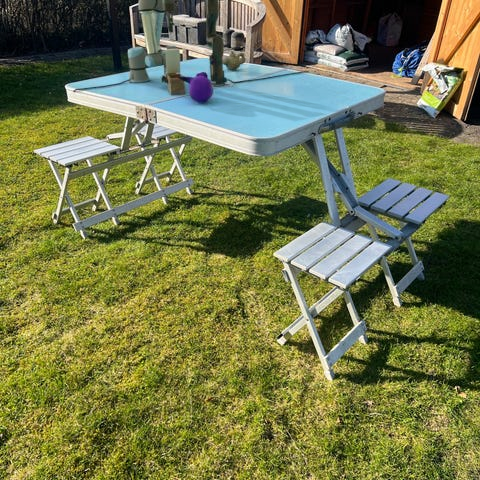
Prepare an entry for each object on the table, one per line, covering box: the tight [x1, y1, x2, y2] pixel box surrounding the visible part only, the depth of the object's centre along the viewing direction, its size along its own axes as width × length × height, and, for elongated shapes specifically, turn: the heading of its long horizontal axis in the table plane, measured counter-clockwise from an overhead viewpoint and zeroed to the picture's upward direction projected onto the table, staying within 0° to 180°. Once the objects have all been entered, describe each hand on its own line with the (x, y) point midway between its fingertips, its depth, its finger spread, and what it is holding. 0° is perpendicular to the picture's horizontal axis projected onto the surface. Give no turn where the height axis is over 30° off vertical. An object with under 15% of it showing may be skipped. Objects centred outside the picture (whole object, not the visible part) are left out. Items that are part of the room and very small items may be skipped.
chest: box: [167, 72, 186, 96], centre depth 302 cm, size 16×9×10 cm, turn 14°
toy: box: [178, 71, 214, 104], centre depth 278 cm, size 16×18×27 cm
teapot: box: [223, 50, 246, 71], centre depth 368 cm, size 21×12×15 cm, turn 120°
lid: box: [164, 45, 181, 74], centre depth 302 cm, size 17×9×9 cm
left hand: (174, 81), depth 305 cm, fingers closed on chest, 9 cm apart
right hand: (170, 31), depth 288 cm, fingers open, 6 cm apart
